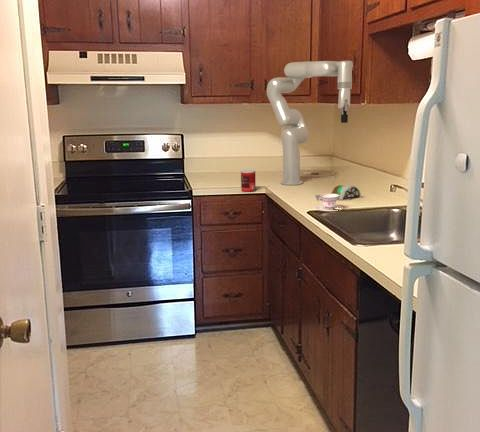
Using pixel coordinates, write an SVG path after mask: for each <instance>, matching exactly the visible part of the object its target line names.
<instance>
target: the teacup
mask: <svg viewBox="0 0 480 432" xmlns="http://www.w3.org/2000/svg"><path fill="white" fill-rule="evenodd" d="M319 195H320V196H321V197H318V198H319V200H318V202H319V203H320V204H321V205H317V206H316V207H315V209H316V210H318V211H322V212H337V211H338V210H333V209H335V208H337V207H338V208H341V209H340V210H339V211H342V210H343V209H344V207H343V206H340V205H337V204H336V203H337V201H338V200H337V198H338V197H339V195H338V194H332V193H323V194H319ZM320 198H322V199H323V200H320ZM322 202H323V203H322ZM324 209H327V210H324ZM339 211H338V212H339Z"/></svg>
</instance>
